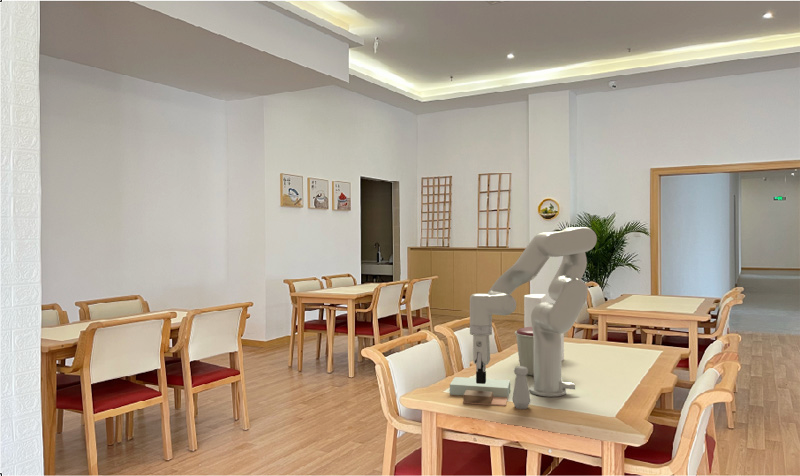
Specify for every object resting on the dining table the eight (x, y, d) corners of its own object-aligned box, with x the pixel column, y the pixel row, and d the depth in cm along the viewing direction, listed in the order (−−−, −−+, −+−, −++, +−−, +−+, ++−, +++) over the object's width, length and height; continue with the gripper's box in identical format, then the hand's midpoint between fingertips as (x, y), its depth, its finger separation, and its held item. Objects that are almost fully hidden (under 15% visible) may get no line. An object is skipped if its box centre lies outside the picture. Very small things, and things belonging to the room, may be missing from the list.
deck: (510, 389, 205) (510, 380, 205) (507, 398, 194) (507, 388, 194) (454, 386, 210) (454, 376, 210) (449, 394, 200) (449, 384, 200)
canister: (522, 366, 241) (522, 316, 241) (566, 371, 232) (565, 319, 232) (508, 375, 226) (508, 322, 225) (554, 381, 216) (554, 326, 216)
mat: (507, 398, 194) (507, 397, 194) (505, 406, 186) (505, 404, 186) (466, 395, 198) (466, 394, 198) (462, 403, 189) (462, 401, 189)
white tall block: (521, 360, 252) (521, 297, 252) (527, 353, 268) (527, 293, 268) (562, 363, 246) (561, 298, 246) (565, 355, 262) (565, 294, 262)
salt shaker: (533, 409, 182) (533, 368, 182) (517, 410, 181) (517, 369, 181) (524, 403, 188) (524, 364, 188) (509, 405, 186) (508, 365, 186)
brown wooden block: (490, 396, 187) (490, 404, 187) (492, 391, 192) (492, 398, 192) (463, 394, 189) (463, 402, 189) (466, 390, 195) (466, 397, 195)
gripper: (489, 333, 188) (489, 389, 188) (494, 326, 202) (494, 378, 203) (466, 333, 190) (467, 388, 190) (472, 326, 204) (473, 377, 204)
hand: (481, 383), depth 196 cm, fingers closed
